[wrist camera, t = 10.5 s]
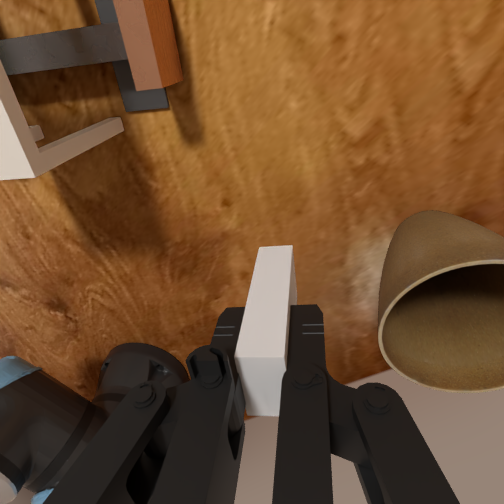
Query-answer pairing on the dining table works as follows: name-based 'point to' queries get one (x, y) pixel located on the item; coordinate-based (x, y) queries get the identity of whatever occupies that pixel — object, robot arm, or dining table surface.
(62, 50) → the long-handled tray
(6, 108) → the white mini stool
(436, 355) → the plant pot
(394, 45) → the dining table surface
